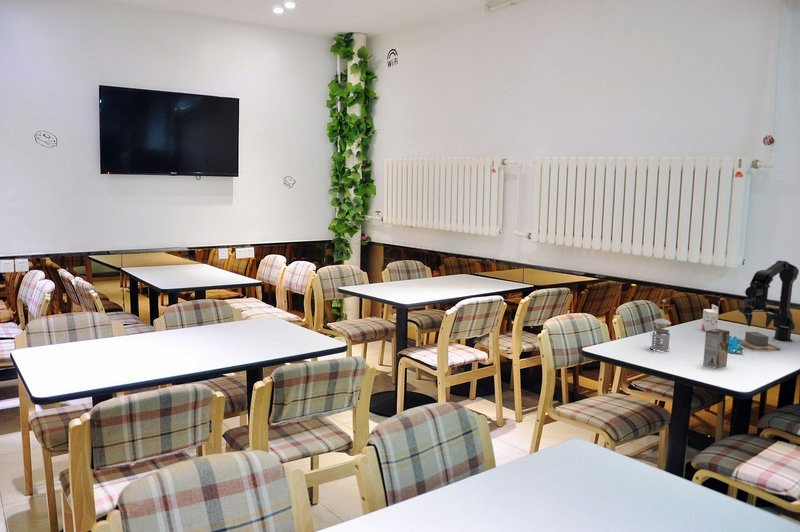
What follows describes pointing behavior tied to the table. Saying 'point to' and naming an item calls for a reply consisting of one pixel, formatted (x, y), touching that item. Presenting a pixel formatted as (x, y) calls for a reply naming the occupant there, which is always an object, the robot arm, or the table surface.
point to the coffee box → (716, 348)
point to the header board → (753, 347)
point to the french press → (660, 335)
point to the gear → (734, 345)
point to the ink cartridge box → (710, 318)
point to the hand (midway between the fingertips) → (757, 326)
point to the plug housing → (756, 338)
